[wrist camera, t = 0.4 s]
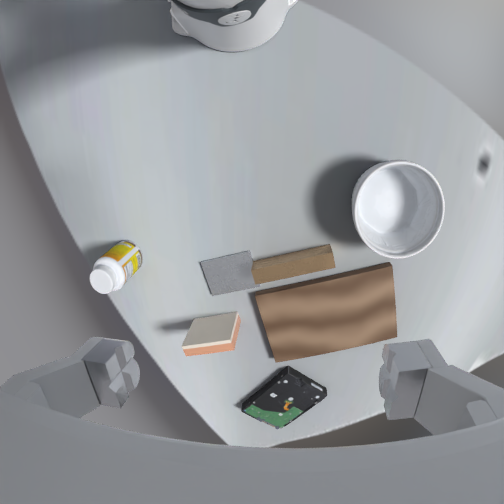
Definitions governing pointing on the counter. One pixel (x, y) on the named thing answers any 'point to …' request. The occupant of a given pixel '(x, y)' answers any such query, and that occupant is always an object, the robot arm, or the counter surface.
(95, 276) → the supplement bottle
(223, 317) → the tile
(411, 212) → the ramekin
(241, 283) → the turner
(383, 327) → the board
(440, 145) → the counter surface
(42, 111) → the counter surface
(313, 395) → the disk drive
